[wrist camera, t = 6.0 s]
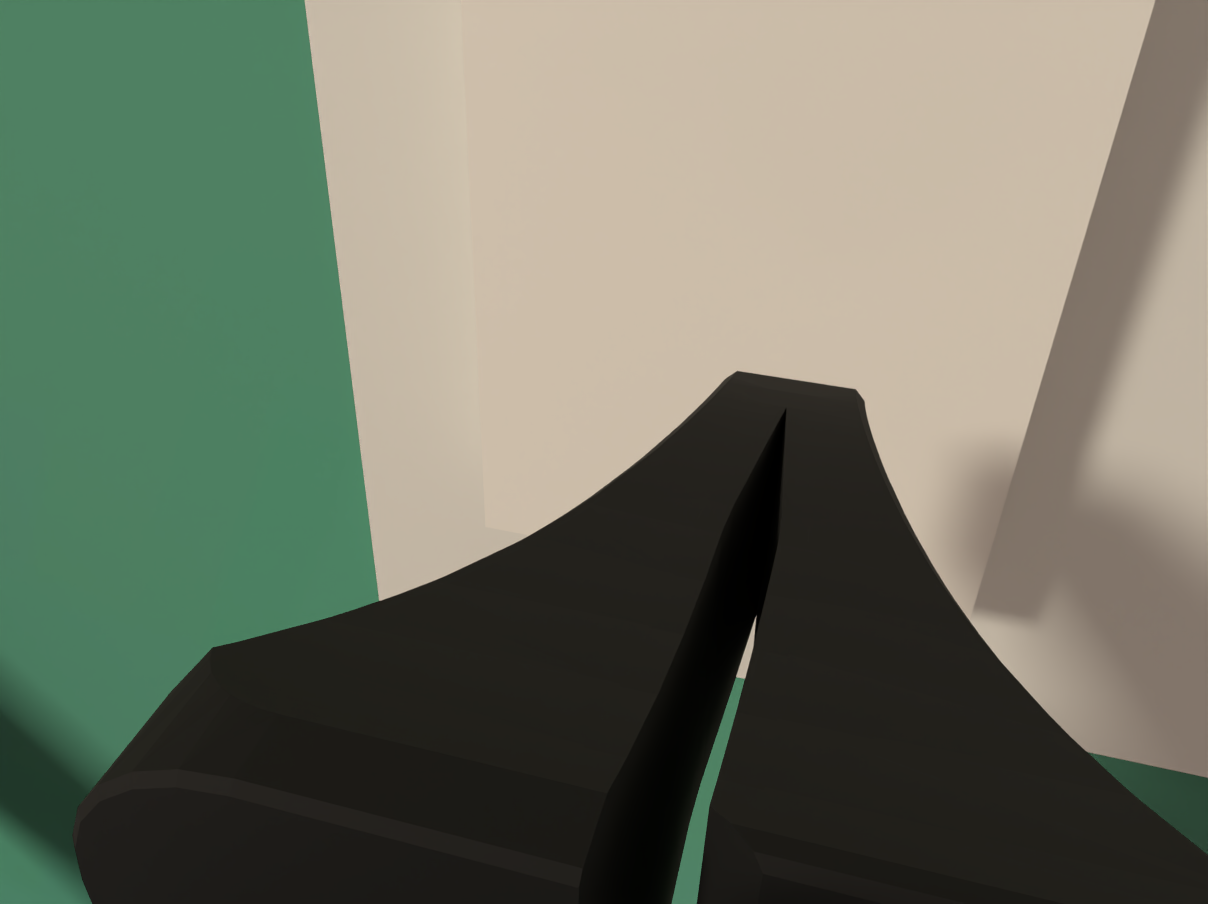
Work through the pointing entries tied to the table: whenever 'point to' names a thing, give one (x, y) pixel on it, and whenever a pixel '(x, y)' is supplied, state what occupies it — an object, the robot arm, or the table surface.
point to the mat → (1051, 444)
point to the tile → (781, 228)
